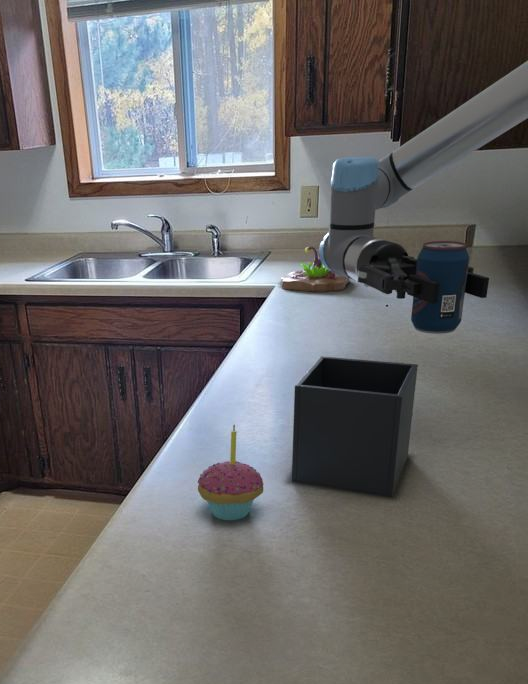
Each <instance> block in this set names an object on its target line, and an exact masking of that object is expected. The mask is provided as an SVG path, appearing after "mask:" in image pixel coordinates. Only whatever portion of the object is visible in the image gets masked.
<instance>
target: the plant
mask: <svg viewBox="0 0 528 684" xmlns="http://www.w3.org/2000/svg"><path fill="white" fill-rule="evenodd" d="M304 251H305V253H307V254H308V253H310V252H311V251H313V253H314V254H313V255H314V256H313V263H312V262H310V261H309V262H308V263H307V264H308V265H307V264H305V263H301V262H300V265H301V267H302V270H293V271H291V272H289V273H287V274H285V275H283V276H281V286H282V287H281V289H282V290H289V291H300V292H301V291H302V292H316V293H317V292H321V293H325V292H331V291H333V292H334V291H335V292H338V291H343V290H345V289H346V286H347V284H349V283H350V278H347V277H344V276H340V275H336V274H335V273H333V272H332V271H330V270H329V269H327V268H326V267H325V266H324V265H323V264H322V263H321V261H320V258H319V254H318V251H317V249H316V248H315V247H313V246H307V247H306V248H305V249H304Z"/></svg>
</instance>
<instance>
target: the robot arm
mask: <svg viewBox="0 0 528 684" xmlns="http://www.w3.org/2000/svg"><path fill="white" fill-rule="evenodd" d="M527 119H528V60H526V61H525V62H523V63H522V64H521V65H519V66H518V67H516V68H514V69H513V70H512V71H510V72H509V73H508V74H506V75H504V76H503V77H501V78H500V79H498V80H497V81H495V82H494V83H493V84H491V85H489V86H488V87H486V88H485V89H484V90H482V91H480V92H479V93H477V94H476V95H474V96H473V97H472V98H470V99H468V100H467V101H466V102H464V103H463V104H460V105H459V106H458V107H457V108H455V109H454V110H452V111H451V112H450V113H448V114H447V115H445V116H443V117H442V118H440V119H438V120H437V121H436V122H435V123H432V125H430V126H428V127H427V128H426V129H424V130H423V131H421V132H420V133H418V134H416V135H415V136H413V137H412V138H411V139H409V140H408V141H406V142H405V143H404V144H401V145H400V146H399V147H397V148H396V149H394V150H393V151H391V152H390V153H388V154H387V155H385V156H384V157H382V158H381V159H380V160H378V158H376V157H374V156H350V157H341V158H338V159H336V160H334V162H333V164H332V173H331V179H330V186H331V187H330V188H331V189H330V212H329V213H330V214H329V227H328V232H327V233H326V234H325V235H324V236H323V238H322V239H321V242H320V243H319V244H320V245H319V246H318V255H319V258H320V261H321V263H322V264H323V265H324V267H326V268H327V269H329V270H330V271H332V272H333V273H335V274H336V275H340V276H344V277H347V278H349V280H353V281H355V282H358V283H360V284H363V286H364V287H365V288H369V287H370V288H372V289H375V290H376V291H378V292H381V293H382V294H385V295H390V294H393V291H395V292H396V299H400V300H402V299H403V300H404V299H406V294H407V296H411V297H412V298H413V297H416V298H419V299H421V300H424V301H427V302H429V303H432V304H434V303H437V302H438V293H439V285H440V283H438V282H435V281H432V280H428V279H425V278H422V277H419V276H416V266H417V258H415V257H414V256H410V255H409V253H408V252H407V250H406V249H405V247H404V246H403V245H401V244H400V243H397V242H394V241H389V240H386V239H383V238H379V237H374V229H375V228H374V227H375V220H376V219H375V218H376V217H375V216H376V211H377V210H379V209H384V208H388V207H390V206H391V205H393V204H395V203H397V202H398V201H399V200H400V199H401V198H402V197H404V196H405V195H407V194H408V193H410V192H411V191H412V190H413V189H416V188H418V187H419V186H420V185H422V184H424V183H425V182H427V181H429V180H430V179H432V178H433V177H435V176H437V175H438V174H440V173H441V172H443V171H445V170H447V169H448V168H449V167H451V166H453V165H454V164H456V163H457V162H459V161H461V160H462V159H464V158H466V157H467V156H469V155H470V154H472V153H473V152H475V151H477V150H478V149H480V148H482V147H483V146H485V145H486V144H488V143H490V142H492V141H493V140H495V139H496V138H498V137H500V136H501V135H503V134H504V133H507V131H509V130H510V129H512V128H514V127H516V126H517V125H519V124H520V123H522V122H524V121H525V120H527ZM474 270H475V267H472V266H468V272H467V280H466V288H465V294H467V295H471V296H474V297H476V298H480V299H486V298H487V297H488V291H489V290H488V289H489V282H490V277H487V276H484V275H481V274H477V273H475V272H474Z"/></svg>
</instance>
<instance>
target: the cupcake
mask: <svg viewBox="0 0 528 684" xmlns="http://www.w3.org/2000/svg"><path fill="white" fill-rule="evenodd" d="M236 454H237V431H236V424H233V426H232V430H231V432H230V456H229V457H230V460H228V461H224V462H217V463H214V464H212V465H209V466H208V468H206V469H204V470H203V471H202V473H200V474H199V477H198V480H197V484H198V486H197V492H198V493H199V495H200V497H201V498H202V499H203V501H206V503H207V504H208V506H209V509H210V512H211V515H212V516H213V517H214V518H216V519H218V520H221V521H222V520H224V521H236V520H237V521H239V520H242V519H244V518H245V517H247V516H248V515H249V512H250V511H251V507H252V505H253V502H254V500H256V499H257V498H258V497H260V496H261V495H263V493H264V481H263V478H262V476H261V472H258V471H257V469H256V468H254V467H253V466H250V465H249V464H247V463H245V462H244V463H243V462H239V461H237V460H236V459H237V458H236V457H237V456H236Z"/></svg>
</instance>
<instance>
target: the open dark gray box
mask: <svg viewBox="0 0 528 684" xmlns="http://www.w3.org/2000/svg"><path fill="white" fill-rule="evenodd" d="M418 366H419V365H418V363H406V362H394V361H381V360H380V361H379V360H371V359H370V360H369V359H357V358H346V357H345V358H343V357H334V356H333V357H332V356H319V358H317V360H316V361H315V362H314V363H313V364H312V365H311V367H310V368H309V369H308V370H307V371H306V372H305V373H304V375H303V376H302V377H301V378H300V379H299V380H298V382H297V383H296V384H295V386H294V397H293V399H294V400H293V425H292V426H293V427H292V429H293V431H292V434H293V435H292V454H291V455H292V458H291V459H292V460H291V483H295V484H301V485H306V486H307V485H308V486H313V487H320V488H321V487H322V488H327V489H333V490H340V491H346V492H347V491H348V492H354V493H360V494H365V495H373V496H380V497H386V498H393V496H394V493H395V491H396V488H397V486H398V483H399V480H400V478H401V475H402V473H403V470H404V467H405V465H406V462H407V459H408V457H409V447H410V439H411V430H412V422H413V411H414V403H415V393H416V385H417V376H418Z"/></svg>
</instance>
